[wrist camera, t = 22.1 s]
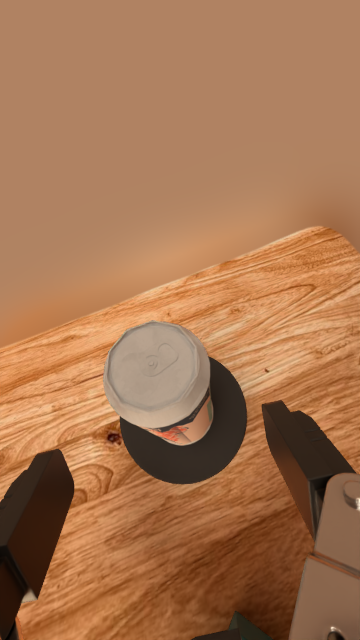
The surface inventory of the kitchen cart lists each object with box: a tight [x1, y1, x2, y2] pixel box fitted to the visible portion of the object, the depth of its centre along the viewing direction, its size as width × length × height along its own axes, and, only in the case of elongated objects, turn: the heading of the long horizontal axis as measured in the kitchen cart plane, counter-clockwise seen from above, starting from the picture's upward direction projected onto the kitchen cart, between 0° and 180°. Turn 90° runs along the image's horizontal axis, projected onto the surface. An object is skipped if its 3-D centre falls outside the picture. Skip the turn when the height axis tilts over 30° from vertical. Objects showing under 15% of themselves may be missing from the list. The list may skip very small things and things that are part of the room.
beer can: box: [103, 320, 213, 445], centre depth 17 cm, size 5×5×12 cm
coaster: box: [120, 356, 247, 484], centre depth 23 cm, size 10×10×1 cm
